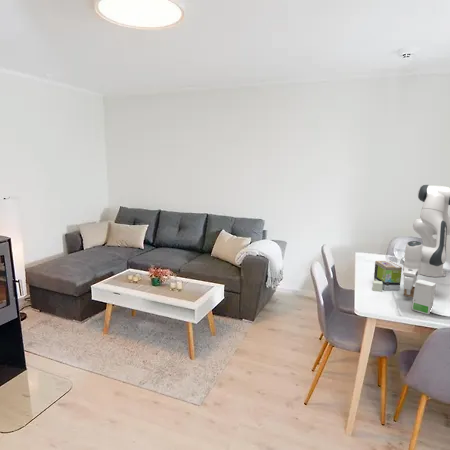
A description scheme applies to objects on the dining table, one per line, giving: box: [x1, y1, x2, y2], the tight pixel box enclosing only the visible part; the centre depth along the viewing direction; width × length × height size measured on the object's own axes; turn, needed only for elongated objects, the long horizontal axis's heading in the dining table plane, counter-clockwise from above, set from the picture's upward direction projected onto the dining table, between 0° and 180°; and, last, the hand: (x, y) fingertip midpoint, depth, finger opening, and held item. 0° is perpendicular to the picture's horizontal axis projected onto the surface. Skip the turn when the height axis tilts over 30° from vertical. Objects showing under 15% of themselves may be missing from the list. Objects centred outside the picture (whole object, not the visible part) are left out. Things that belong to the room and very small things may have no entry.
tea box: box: [373, 260, 403, 291], centre depth 211 cm, size 15×10×15 cm
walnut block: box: [403, 285, 415, 298], centre depth 197 cm, size 5×5×5 cm
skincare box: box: [411, 279, 437, 315], centre depth 175 cm, size 8×7×16 cm
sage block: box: [372, 279, 383, 293], centre depth 206 cm, size 5×5×5 cm
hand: (409, 292), depth 197 cm, fingers open, 6 cm apart
